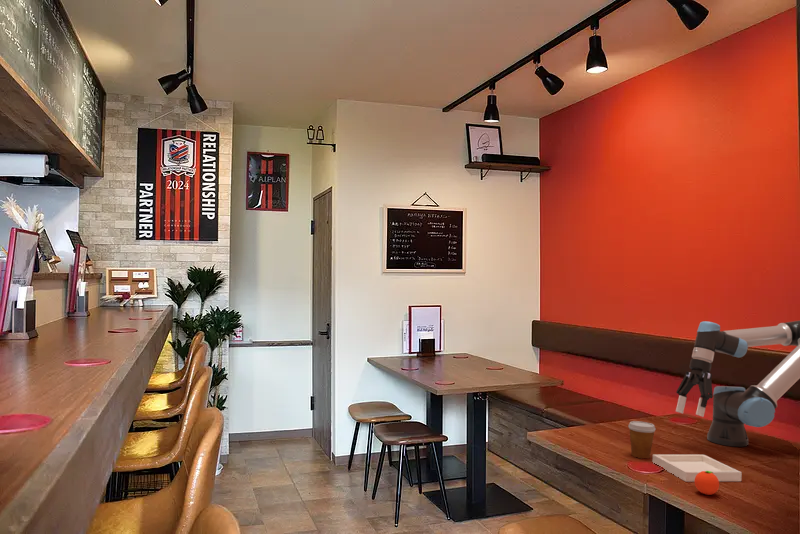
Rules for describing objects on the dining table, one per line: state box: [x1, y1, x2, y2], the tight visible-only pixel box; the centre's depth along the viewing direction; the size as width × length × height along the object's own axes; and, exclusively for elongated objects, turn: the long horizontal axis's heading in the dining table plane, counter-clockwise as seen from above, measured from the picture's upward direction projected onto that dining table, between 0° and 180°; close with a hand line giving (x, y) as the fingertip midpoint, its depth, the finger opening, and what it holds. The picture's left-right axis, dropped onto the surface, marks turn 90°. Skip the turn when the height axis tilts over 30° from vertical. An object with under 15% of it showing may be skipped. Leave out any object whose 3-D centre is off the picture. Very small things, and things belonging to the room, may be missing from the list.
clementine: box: [694, 471, 720, 496], centre depth 194 cm, size 8×7×7 cm
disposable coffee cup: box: [628, 420, 657, 459], centre depth 232 cm, size 10×10×12 cm
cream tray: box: [651, 454, 742, 483], centre depth 216 cm, size 20×20×3 cm
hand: (689, 414), depth 240 cm, fingers open, 13 cm apart
